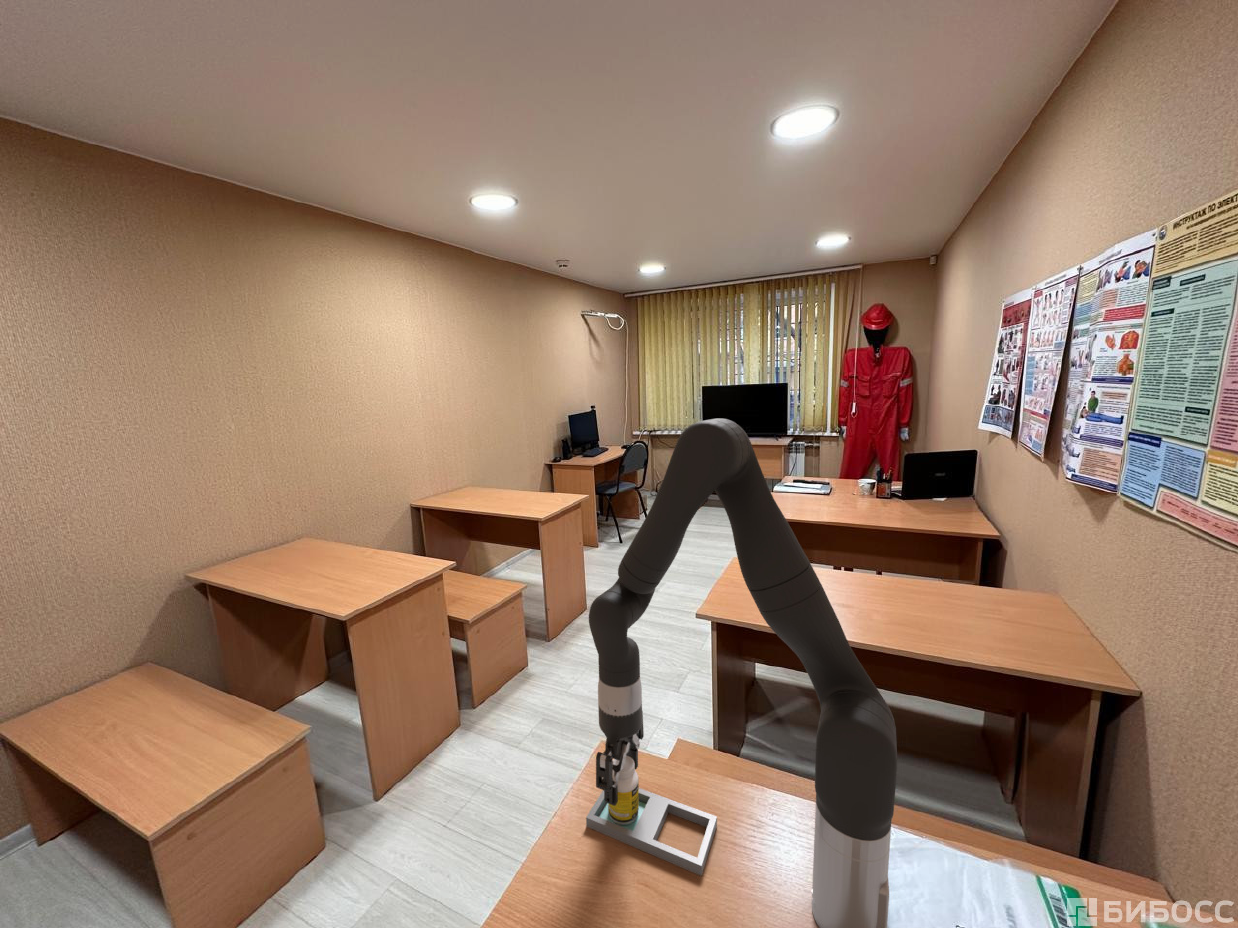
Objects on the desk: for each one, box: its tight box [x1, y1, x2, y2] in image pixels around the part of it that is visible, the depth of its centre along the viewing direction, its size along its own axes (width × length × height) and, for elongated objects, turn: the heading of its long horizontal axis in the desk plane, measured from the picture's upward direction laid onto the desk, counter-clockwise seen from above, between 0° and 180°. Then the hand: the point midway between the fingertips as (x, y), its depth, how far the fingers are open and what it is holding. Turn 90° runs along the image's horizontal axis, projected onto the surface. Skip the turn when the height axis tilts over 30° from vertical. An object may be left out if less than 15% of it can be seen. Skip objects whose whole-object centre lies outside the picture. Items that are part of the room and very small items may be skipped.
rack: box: [585, 787, 718, 877], centre depth 82 cm, size 20×10×2 cm, turn 64°
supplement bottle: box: [608, 756, 640, 825], centre depth 84 cm, size 5×5×10 cm
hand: (622, 783), depth 83 cm, fingers open, 8 cm apart
